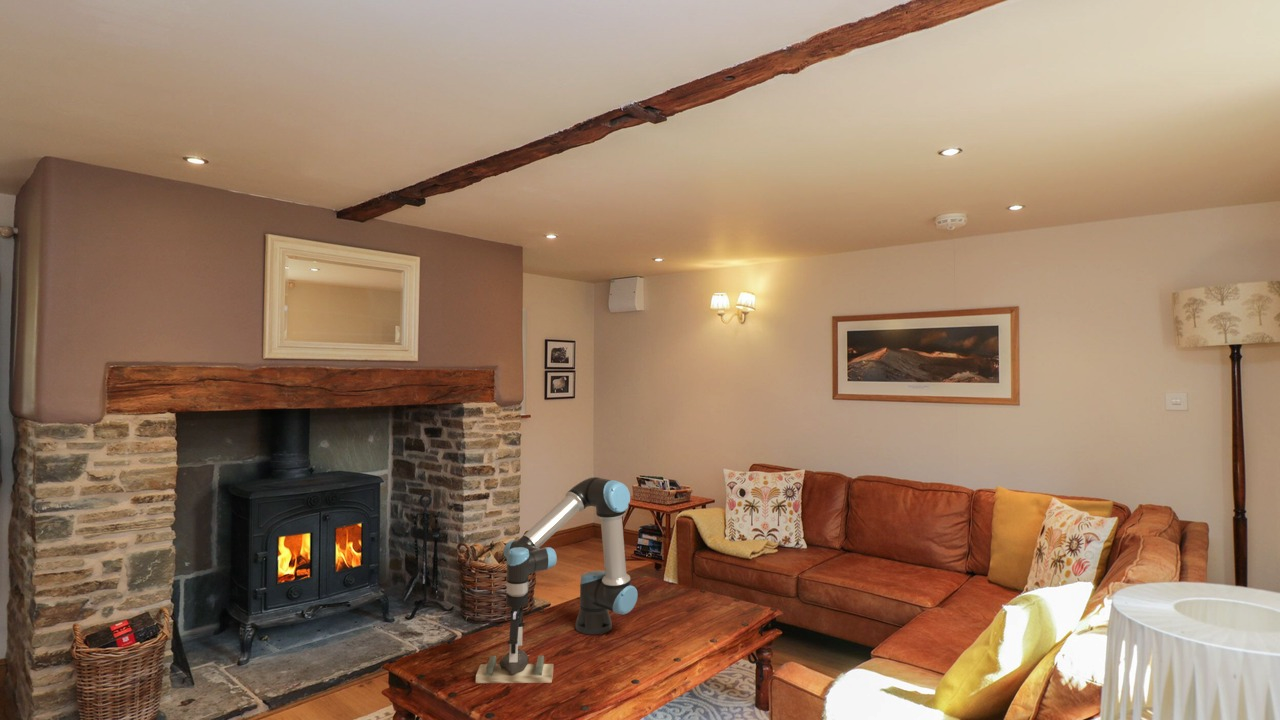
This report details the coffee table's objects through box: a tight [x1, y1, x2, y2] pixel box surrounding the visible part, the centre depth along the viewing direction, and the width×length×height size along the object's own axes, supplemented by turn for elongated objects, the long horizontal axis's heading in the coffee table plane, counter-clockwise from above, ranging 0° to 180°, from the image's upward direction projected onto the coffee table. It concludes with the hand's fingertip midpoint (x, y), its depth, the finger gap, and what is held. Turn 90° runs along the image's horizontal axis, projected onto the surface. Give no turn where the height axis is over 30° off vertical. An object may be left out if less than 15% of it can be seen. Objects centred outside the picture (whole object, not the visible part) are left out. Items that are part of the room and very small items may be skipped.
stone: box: [499, 648, 530, 675], centre depth 240 cm, size 10×8×10 cm
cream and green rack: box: [475, 655, 555, 684], centre depth 240 cm, size 26×9×6 cm, turn 93°
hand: (515, 653), depth 240 cm, fingers open, 13 cm apart
